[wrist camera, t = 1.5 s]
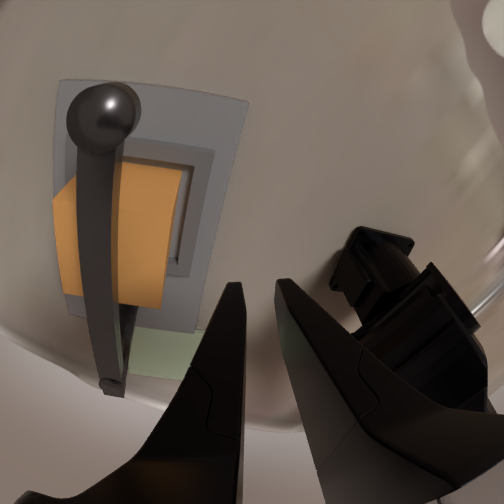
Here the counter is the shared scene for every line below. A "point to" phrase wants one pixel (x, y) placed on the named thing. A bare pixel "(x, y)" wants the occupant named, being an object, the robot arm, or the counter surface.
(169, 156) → the socket plate
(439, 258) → the counter surface
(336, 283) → the robot arm
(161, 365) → the pad
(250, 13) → the counter surface
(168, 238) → the orange cube
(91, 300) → the black knob lever
